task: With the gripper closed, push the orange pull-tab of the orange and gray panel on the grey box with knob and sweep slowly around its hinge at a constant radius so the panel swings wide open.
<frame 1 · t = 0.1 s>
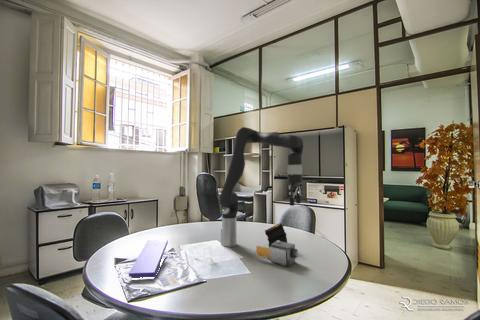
hand: (295, 204, 122), 29 cm above the table, fingers open, 8 cm apart
grey box with knob: (283, 262, 119), on the table
black ribbed block: (276, 249, 139), on the table
purple slab: (150, 268, 114), on the table
orange and gray panel: (272, 254, 118), point 5 cm above the table, hinge at 0.0°
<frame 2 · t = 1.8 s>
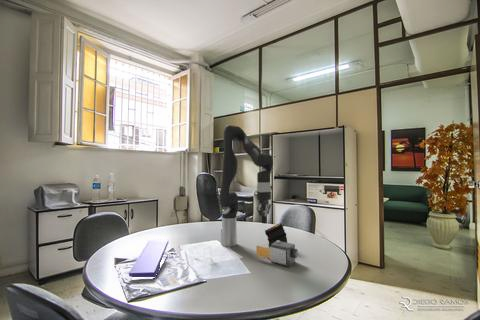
hand: (264, 223, 125), 19 cm above the table, fingers closed
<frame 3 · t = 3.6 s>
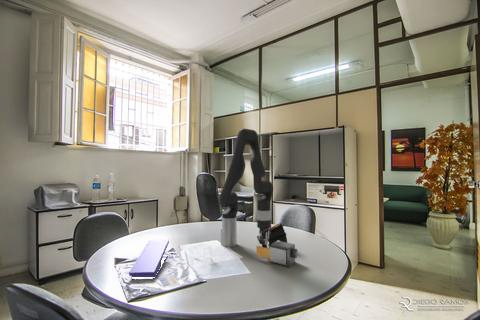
hand: (264, 251, 124), 4 cm above the table, fingers closed
orange and gray panel: (272, 254, 118), point 5 cm above the table, hinge at 0.2°, touching gripper
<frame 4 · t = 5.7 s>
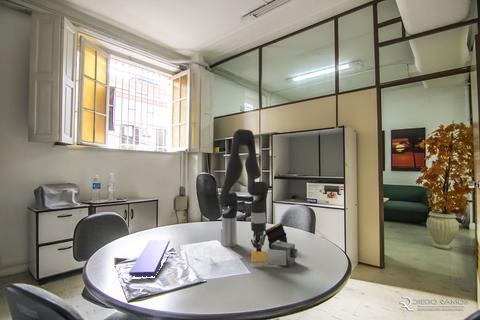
hand: (258, 255, 118), 4 cm above the table, fingers closed
orange and gray panel: (270, 257, 114), point 5 cm above the table, hinge at 27.7°, touching gripper
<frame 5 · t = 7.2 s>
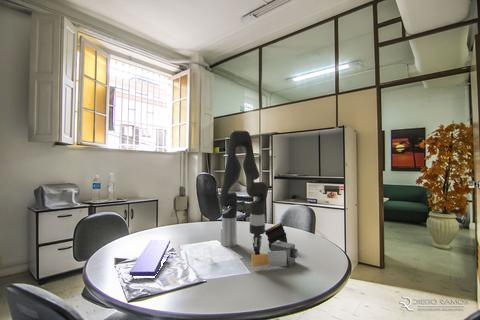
hand: (257, 258, 114), 4 cm above the table, fingers closed
orange and gray panel: (270, 259, 112), point 5 cm above the table, hinge at 44.1°, touching gripper
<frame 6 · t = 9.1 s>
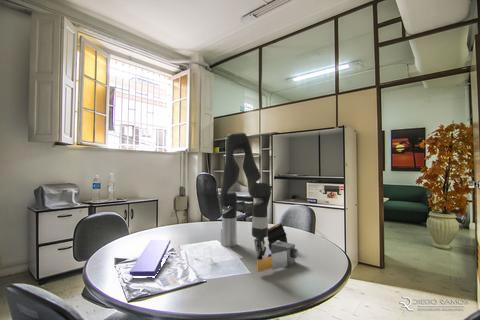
hand: (259, 263, 108), 4 cm above the table, fingers closed
orange and gray panel: (273, 261, 109), point 5 cm above the table, hinge at 65.8°, touching gripper
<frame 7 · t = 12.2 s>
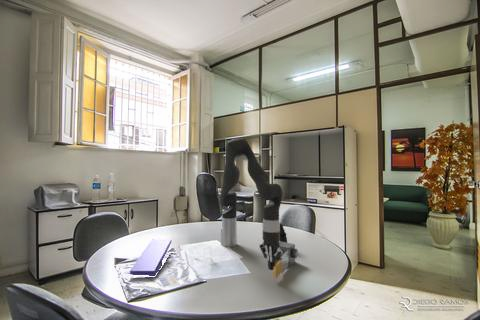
hand: (271, 269, 102), 4 cm above the table, fingers closed
orange and gray panel: (282, 264, 106), point 5 cm above the table, hinge at 96.8°, touching gripper
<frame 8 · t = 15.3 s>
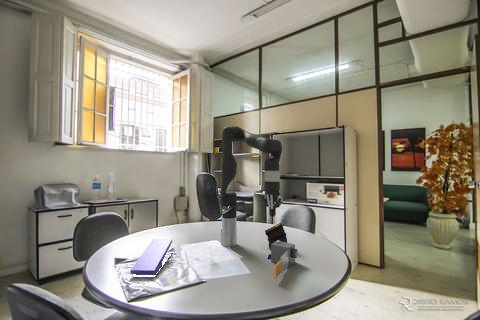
hand: (272, 216, 112), 25 cm above the table, fingers closed
orange and gray panel: (282, 264, 106), point 5 cm above the table, hinge at 96.9°
at the end: orange and gray panel at +97° (first picture: +0°); orange and gray panel touching nothing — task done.
